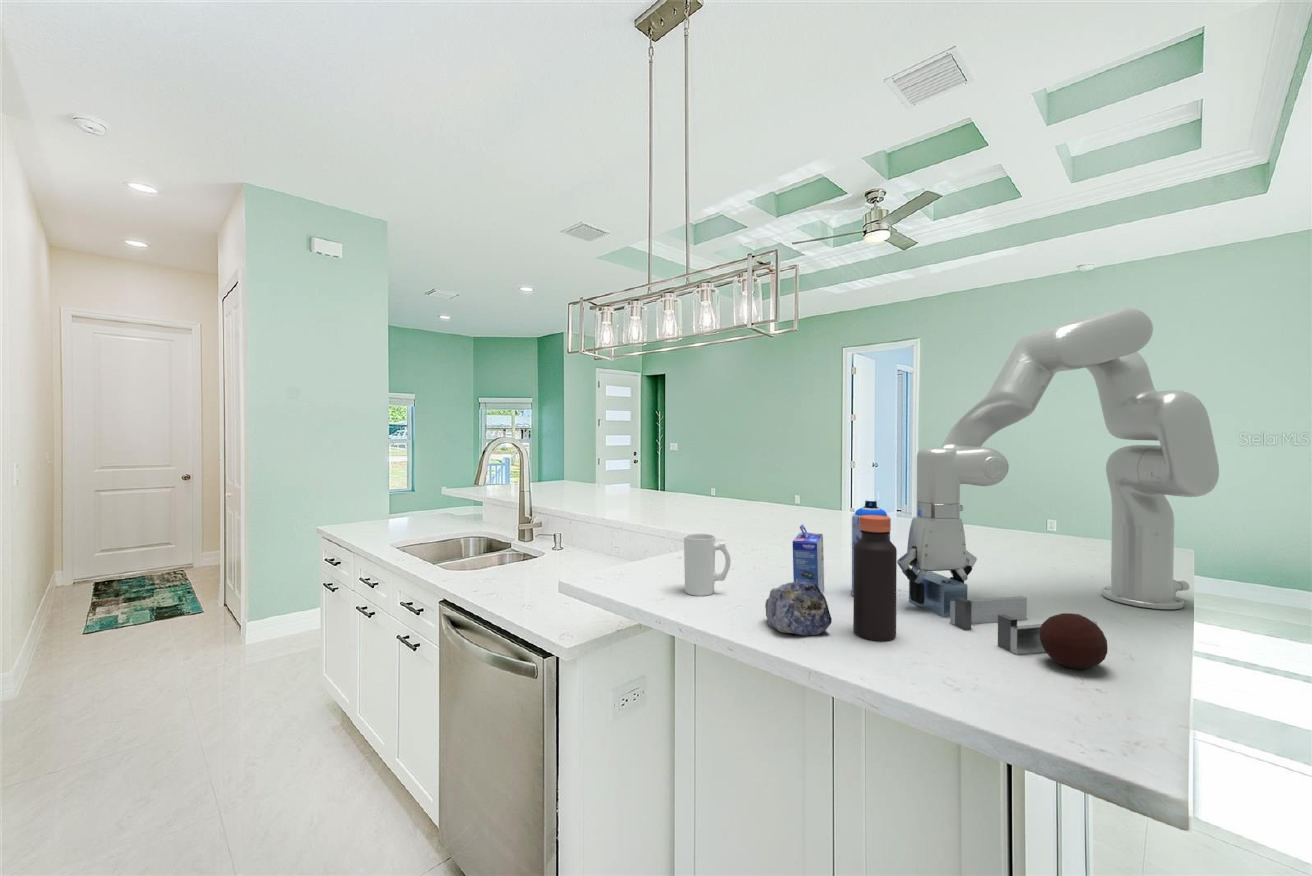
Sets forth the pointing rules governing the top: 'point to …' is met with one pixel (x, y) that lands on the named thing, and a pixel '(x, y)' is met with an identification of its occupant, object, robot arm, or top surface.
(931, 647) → the top surface
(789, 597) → the rock
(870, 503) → the aerosol can
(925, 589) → the lock block
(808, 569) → the ink cartridge box
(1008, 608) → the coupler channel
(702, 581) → the mug
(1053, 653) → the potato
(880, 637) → the bottle
